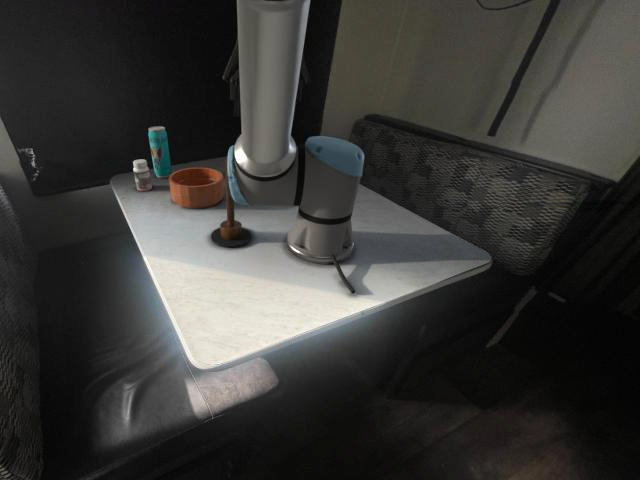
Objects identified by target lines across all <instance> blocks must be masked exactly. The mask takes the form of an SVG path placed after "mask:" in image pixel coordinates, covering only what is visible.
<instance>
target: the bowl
mask: <svg viewBox="0 0 640 480" xmlns="http://www.w3.org/2000/svg"><path fill="white" fill-rule="evenodd" d="M168 184H169V185H168V186H169V191H170V198H171V200H172V202H174V203H175V204H176V205H178V206H180V207H183V208H187V209H203V208H204V209H205V208H209V207H213V206H215V205H217V204H218V203H220V202H221V201H222V199H223V198H224V195H225V191H224V175H223V173H222V172H221V171H219V170H217V169H214V168H210V167H187V168H183V169H178V170H177V171H174V172H171V175H170V176H169V177H168Z"/></svg>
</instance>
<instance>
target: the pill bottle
mask: <svg viewBox="0 0 640 480" xmlns="http://www.w3.org/2000/svg"><path fill="white" fill-rule="evenodd" d="M132 165H133V168H132V170H133V176H134V181H135V187H136V189H137V190H138V191H149V190H151V189H152V188H153V184H152V179H151V173H150V168H149V166H148V161H147V160H146V159H144V158H143V159H141V158H140V159H139V158H138V159H135V160H133V161H132Z"/></svg>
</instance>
